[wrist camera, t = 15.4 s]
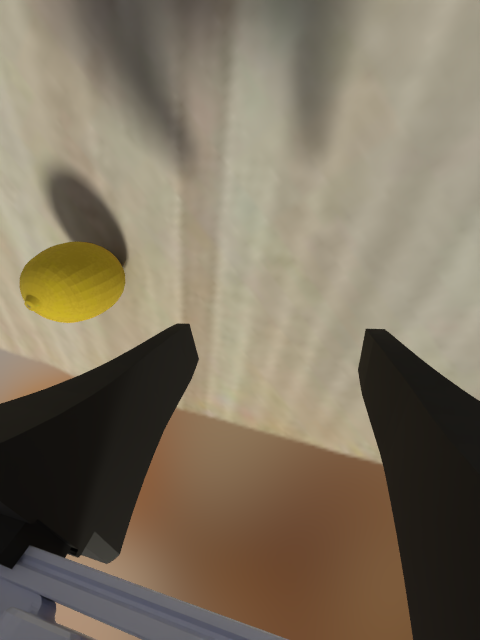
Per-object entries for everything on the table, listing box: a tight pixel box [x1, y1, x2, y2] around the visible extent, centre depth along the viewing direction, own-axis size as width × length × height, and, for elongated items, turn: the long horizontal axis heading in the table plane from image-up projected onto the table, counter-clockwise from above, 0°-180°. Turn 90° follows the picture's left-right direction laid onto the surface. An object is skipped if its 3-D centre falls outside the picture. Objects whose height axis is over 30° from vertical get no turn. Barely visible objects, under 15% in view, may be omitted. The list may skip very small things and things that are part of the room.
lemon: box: [20, 242, 125, 323], centre depth 18 cm, size 6×6×8 cm
